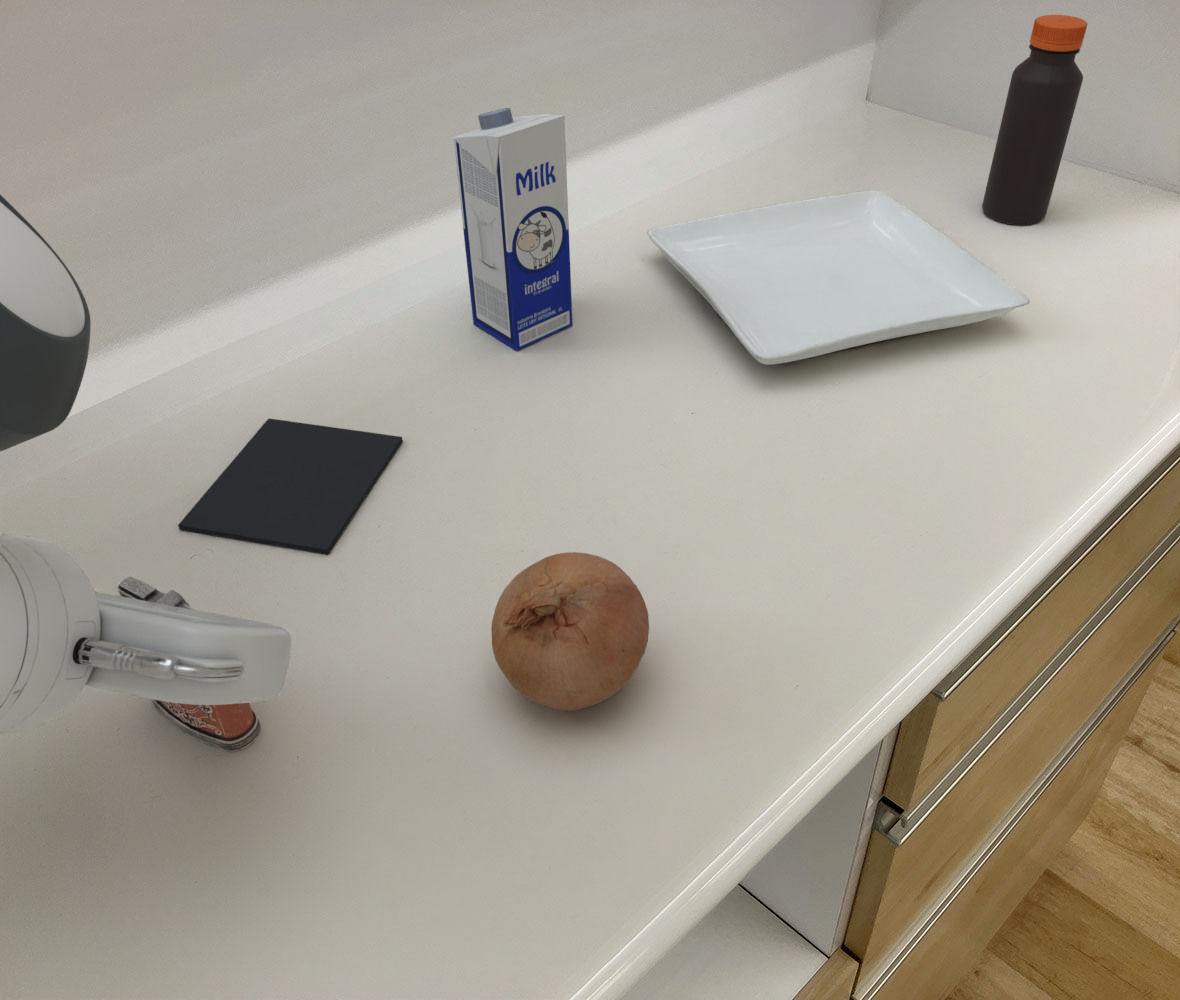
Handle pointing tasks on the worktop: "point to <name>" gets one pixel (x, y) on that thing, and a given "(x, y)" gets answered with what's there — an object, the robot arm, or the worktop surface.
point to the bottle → (1036, 123)
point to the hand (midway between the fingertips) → (172, 629)
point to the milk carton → (516, 225)
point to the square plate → (831, 274)
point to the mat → (293, 486)
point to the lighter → (203, 722)
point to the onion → (570, 630)
